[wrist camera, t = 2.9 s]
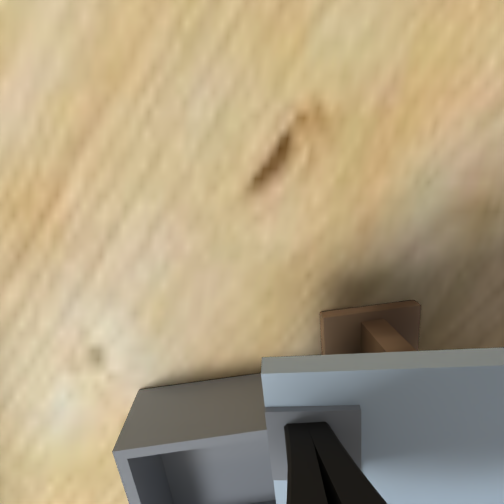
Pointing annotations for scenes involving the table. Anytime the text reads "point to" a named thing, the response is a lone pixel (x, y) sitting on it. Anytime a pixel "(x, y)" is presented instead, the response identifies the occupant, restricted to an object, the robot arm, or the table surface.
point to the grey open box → (197, 444)
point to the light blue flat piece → (398, 419)
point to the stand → (371, 329)
